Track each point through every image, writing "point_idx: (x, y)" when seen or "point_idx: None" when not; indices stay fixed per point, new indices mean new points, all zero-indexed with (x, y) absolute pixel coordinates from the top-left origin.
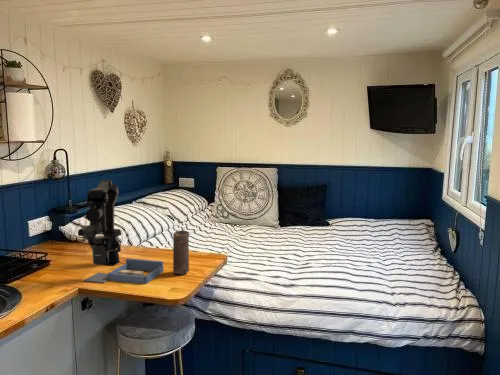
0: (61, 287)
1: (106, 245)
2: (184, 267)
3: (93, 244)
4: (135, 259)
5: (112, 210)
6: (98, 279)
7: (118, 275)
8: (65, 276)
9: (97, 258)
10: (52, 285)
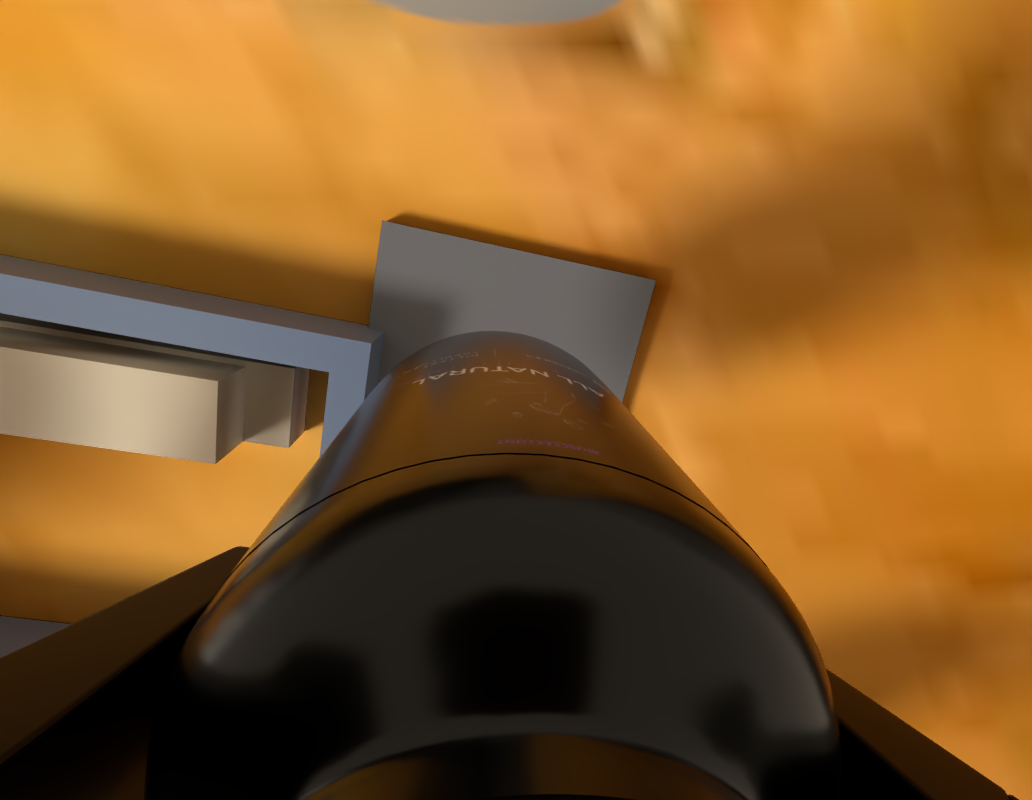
0: (851, 67)
1: (48, 688)
2: None
3: (787, 686)
4: None
5: None
6: (492, 307)
7: (195, 307)
8: (909, 420)
9: (490, 349)
10: (974, 136)
